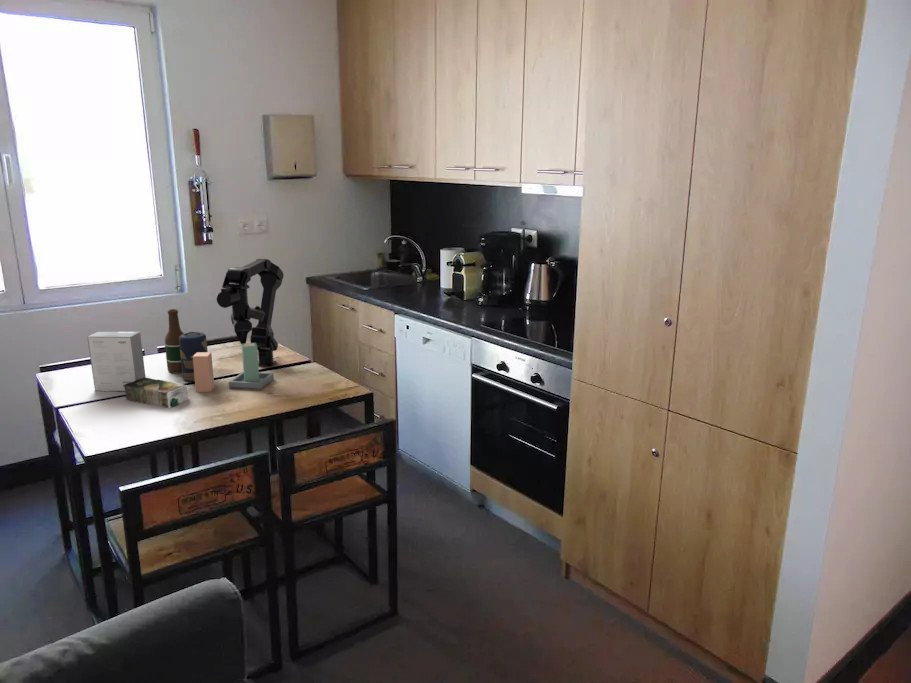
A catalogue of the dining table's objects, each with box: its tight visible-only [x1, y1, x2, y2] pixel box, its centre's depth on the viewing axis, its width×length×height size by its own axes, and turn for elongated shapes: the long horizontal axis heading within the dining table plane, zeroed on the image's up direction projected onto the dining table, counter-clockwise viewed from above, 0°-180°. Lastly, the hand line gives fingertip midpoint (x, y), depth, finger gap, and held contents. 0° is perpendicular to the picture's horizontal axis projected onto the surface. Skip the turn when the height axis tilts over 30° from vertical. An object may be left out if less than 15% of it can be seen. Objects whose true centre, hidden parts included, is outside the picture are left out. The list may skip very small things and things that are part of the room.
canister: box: [179, 331, 209, 382], centre depth 250 cm, size 10×10×18 cm
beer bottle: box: [164, 308, 185, 374], centre depth 259 cm, size 8×8×24 cm
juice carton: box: [124, 377, 190, 409], centre depth 230 cm, size 20×10×6 cm, turn 69°
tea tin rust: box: [193, 351, 215, 393], centre depth 240 cm, size 5×5×13 cm
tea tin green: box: [241, 342, 260, 382], centre depth 246 cm, size 5×5×14 cm
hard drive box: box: [87, 331, 147, 392], centre depth 239 cm, size 16×8×20 cm, turn 89°
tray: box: [228, 371, 275, 391], centre depth 247 cm, size 12×12×2 cm
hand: (242, 343), depth 252 cm, fingers open, 9 cm apart
